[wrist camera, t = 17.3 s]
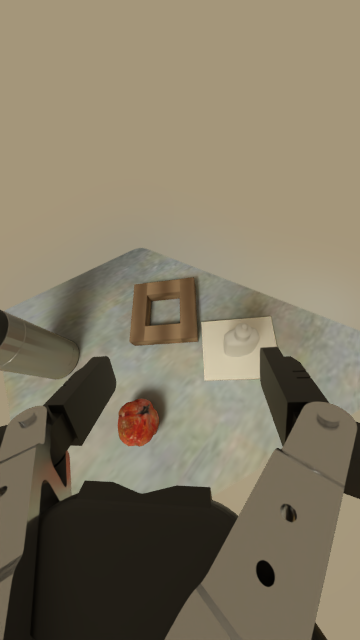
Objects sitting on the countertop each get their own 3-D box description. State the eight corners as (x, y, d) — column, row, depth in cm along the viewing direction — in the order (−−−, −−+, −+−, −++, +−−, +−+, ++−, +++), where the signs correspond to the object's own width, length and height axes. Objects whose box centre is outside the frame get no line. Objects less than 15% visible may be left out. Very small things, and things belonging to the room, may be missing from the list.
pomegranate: (148, 447, 39) (176, 426, 34) (112, 463, 34) (139, 441, 29) (136, 409, 43) (160, 385, 38) (102, 418, 38) (124, 392, 33)
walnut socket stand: (135, 345, 45) (129, 341, 43) (139, 291, 51) (134, 284, 48) (198, 341, 43) (196, 337, 40) (195, 284, 48) (193, 277, 46)
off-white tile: (205, 380, 40) (204, 380, 39) (201, 323, 44) (201, 322, 44) (281, 378, 37) (283, 377, 37) (269, 317, 42) (270, 316, 41)
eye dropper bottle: (227, 334, 42) (229, 308, 31) (255, 342, 40) (268, 318, 29) (221, 354, 40) (220, 335, 29) (250, 363, 39) (260, 347, 28)
